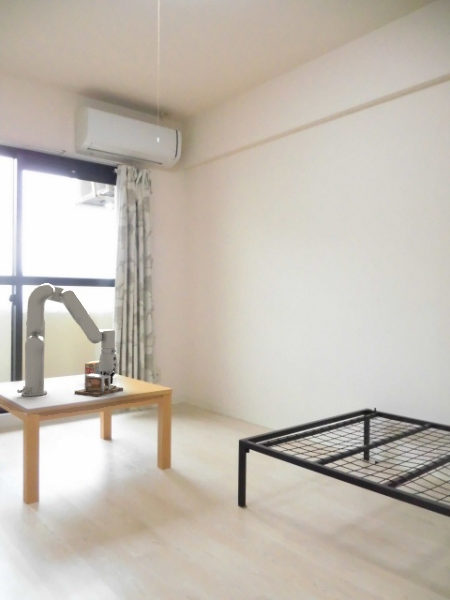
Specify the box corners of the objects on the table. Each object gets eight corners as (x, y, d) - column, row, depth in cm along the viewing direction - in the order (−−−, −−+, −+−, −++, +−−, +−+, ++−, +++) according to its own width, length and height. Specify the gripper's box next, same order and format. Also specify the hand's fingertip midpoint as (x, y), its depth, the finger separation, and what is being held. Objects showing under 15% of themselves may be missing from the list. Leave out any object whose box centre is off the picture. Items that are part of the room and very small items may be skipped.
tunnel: (102, 391, 255) (103, 377, 255) (84, 389, 261) (84, 375, 261) (110, 390, 260) (110, 375, 260) (92, 387, 266) (92, 373, 266)
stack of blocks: (102, 377, 311) (102, 358, 311) (110, 377, 309) (111, 359, 309) (84, 382, 290) (84, 362, 290) (93, 383, 289) (93, 363, 289)
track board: (97, 397, 249) (97, 394, 249) (74, 393, 256) (74, 391, 256) (123, 390, 268) (123, 387, 268) (101, 387, 275) (101, 385, 275)
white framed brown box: (100, 390, 256) (100, 376, 256) (87, 389, 260) (87, 375, 260) (116, 387, 268) (116, 373, 268) (103, 385, 272) (104, 371, 272)
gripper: (123, 351, 267) (123, 384, 267) (101, 349, 275) (101, 381, 275) (115, 352, 261) (114, 386, 261) (92, 351, 268) (92, 383, 268)
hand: (107, 383), depth 268 cm, fingers closed on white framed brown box, 3 cm apart
